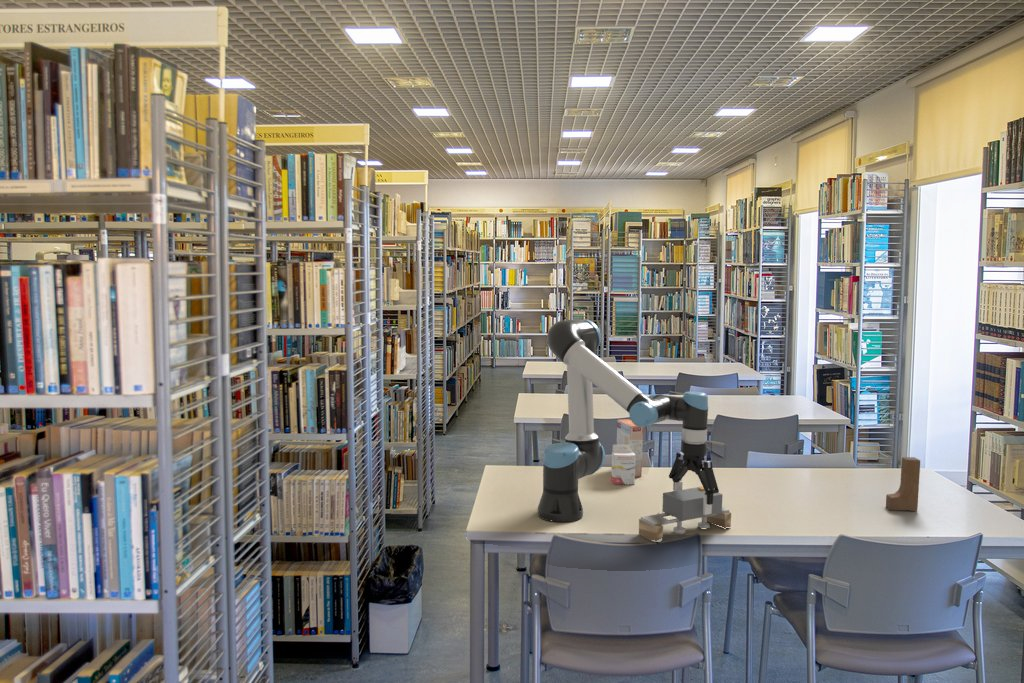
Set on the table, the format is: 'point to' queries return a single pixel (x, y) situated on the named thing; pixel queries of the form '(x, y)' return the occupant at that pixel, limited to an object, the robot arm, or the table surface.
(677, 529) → the grey box orange tab
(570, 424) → the robot arm
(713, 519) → the keyhole board
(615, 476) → the ink cartridge box
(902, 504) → the wooden block
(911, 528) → the table surface
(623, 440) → the cracker box
